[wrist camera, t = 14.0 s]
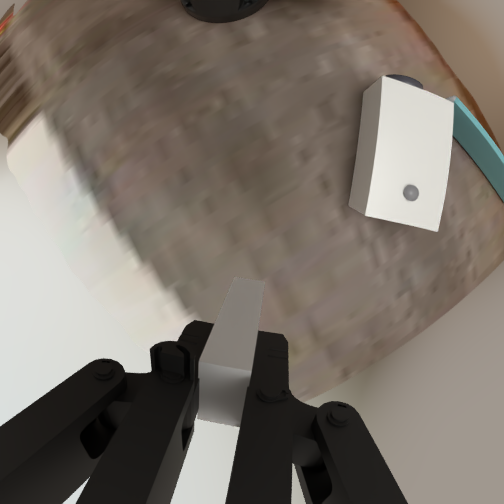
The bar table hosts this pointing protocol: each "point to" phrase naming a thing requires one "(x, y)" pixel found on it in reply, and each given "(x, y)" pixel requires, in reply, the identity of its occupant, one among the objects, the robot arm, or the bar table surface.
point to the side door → (478, 145)
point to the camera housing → (402, 153)
